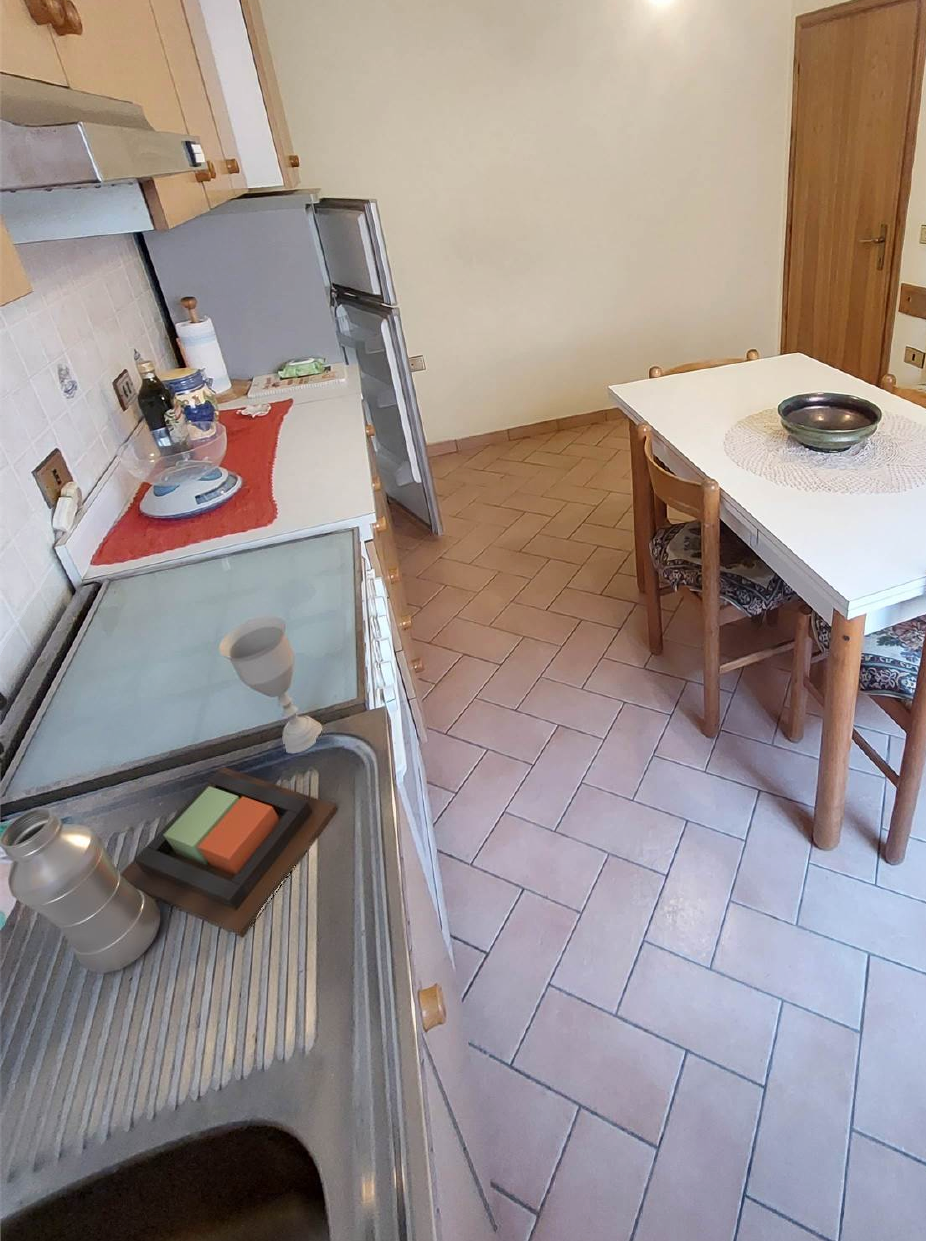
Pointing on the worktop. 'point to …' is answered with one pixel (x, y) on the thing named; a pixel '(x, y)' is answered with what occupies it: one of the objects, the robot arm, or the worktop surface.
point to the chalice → (270, 673)
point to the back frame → (247, 891)
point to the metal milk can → (79, 890)
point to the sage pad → (199, 822)
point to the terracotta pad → (238, 835)
